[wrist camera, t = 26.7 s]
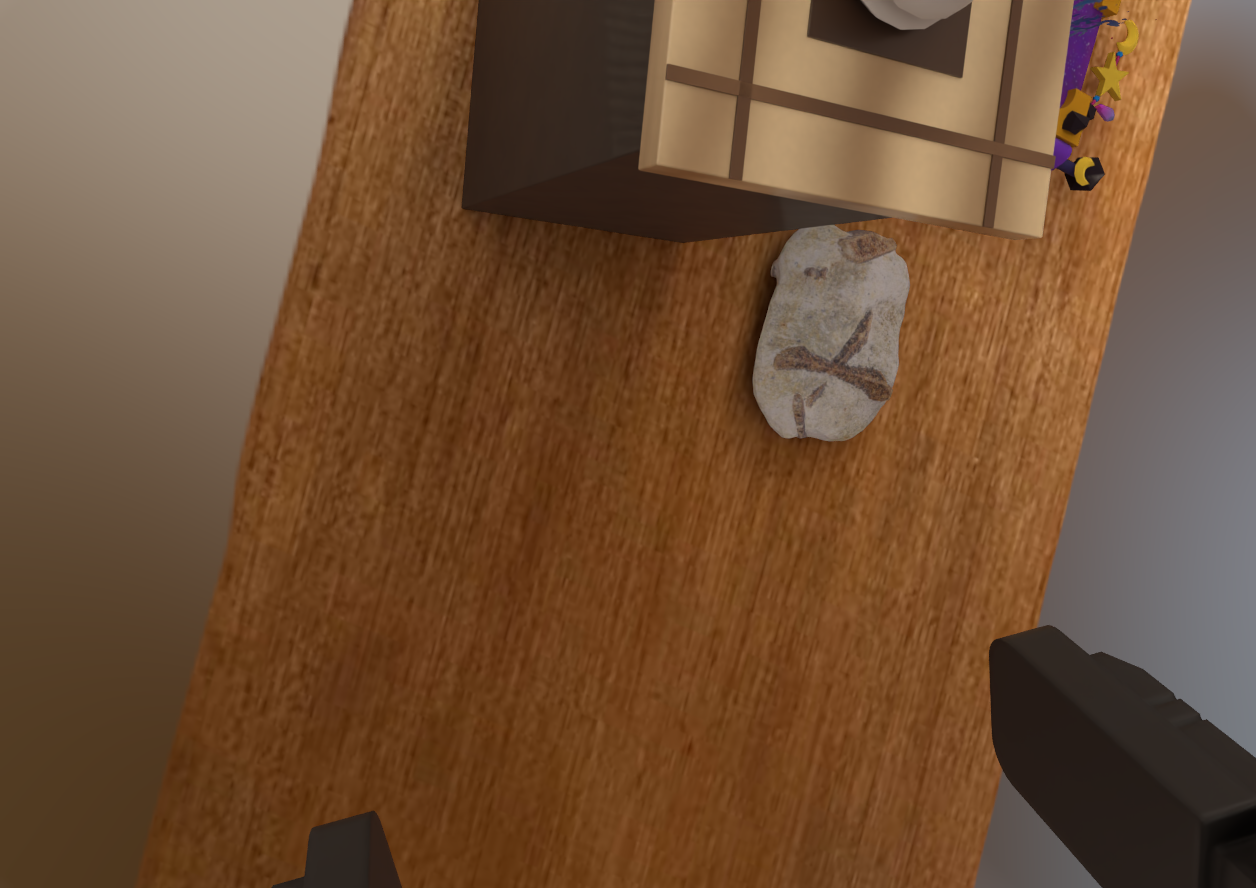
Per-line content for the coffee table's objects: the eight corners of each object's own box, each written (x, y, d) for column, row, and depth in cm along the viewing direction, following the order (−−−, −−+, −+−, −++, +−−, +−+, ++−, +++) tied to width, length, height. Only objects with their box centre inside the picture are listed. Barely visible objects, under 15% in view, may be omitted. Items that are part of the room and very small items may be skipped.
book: (1062, 230, 64) (1250, 214, 53) (740, 71, 53) (892, 10, 42) (1126, 9, 64) (1327, -53, 53) (816, -196, 53) (987, -327, 42)
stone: (860, 448, 59) (897, 455, 56) (728, 428, 55) (761, 435, 52) (895, 246, 59) (935, 242, 56) (765, 211, 55) (800, 206, 52)
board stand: (461, 208, 48) (673, 139, 28) (482, -54, 47) (719, -318, 27) (683, 242, 53) (996, 205, 33) (707, 7, 52) (1045, -177, 32)
